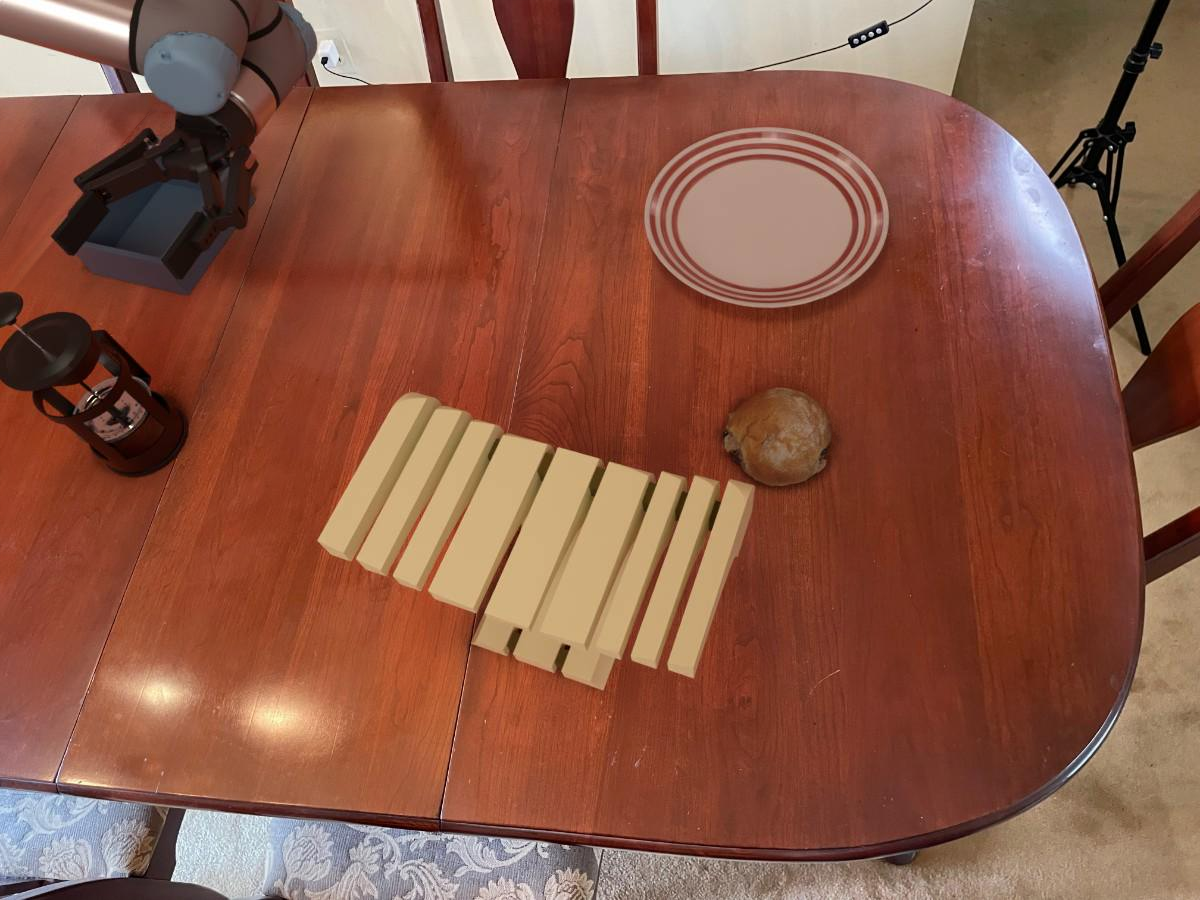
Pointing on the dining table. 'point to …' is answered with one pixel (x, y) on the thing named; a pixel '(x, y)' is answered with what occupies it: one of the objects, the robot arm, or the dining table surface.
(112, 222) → the open box
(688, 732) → the dining table surface
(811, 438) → the bread roll
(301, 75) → the robot arm
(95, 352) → the french press
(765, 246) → the dinner plate
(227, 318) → the dining table surface
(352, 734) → the dining table surface
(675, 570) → the slatted curved stool
